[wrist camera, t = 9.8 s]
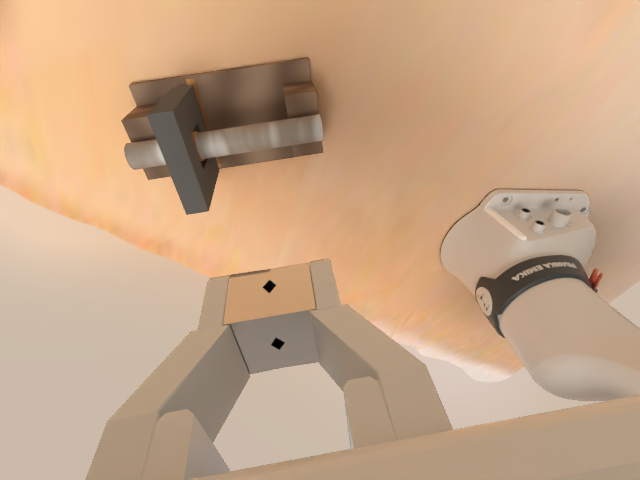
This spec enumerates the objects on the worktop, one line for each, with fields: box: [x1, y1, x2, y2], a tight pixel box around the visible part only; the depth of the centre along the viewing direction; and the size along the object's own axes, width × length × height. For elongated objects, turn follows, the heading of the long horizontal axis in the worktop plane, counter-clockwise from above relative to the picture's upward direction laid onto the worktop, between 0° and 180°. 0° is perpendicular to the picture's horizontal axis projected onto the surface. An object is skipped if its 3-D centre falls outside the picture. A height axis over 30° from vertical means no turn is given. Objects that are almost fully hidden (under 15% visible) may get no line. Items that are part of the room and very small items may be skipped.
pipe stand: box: [121, 58, 324, 180], centre depth 35 cm, size 18×10×8 cm, turn 96°
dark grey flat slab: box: [147, 85, 219, 215], centre depth 32 cm, size 2×9×9 cm, turn 6°
